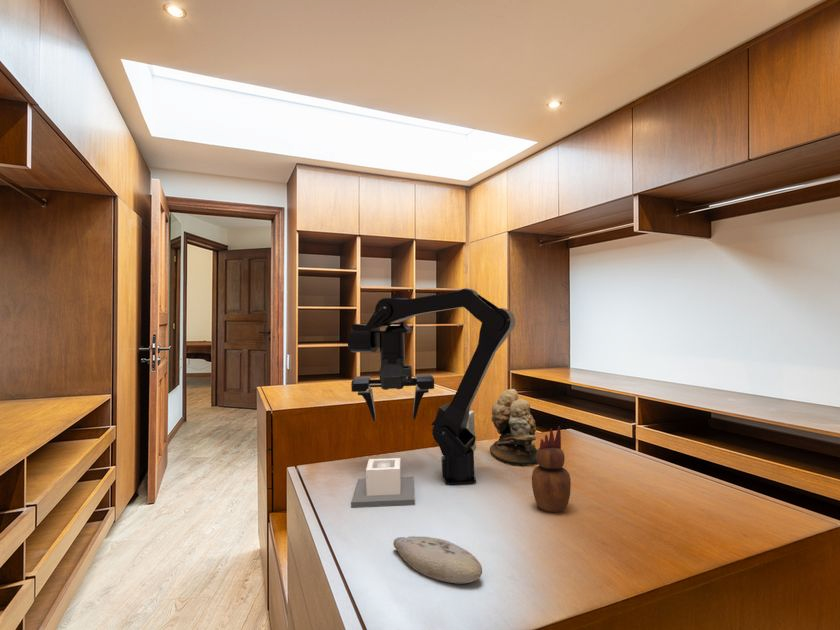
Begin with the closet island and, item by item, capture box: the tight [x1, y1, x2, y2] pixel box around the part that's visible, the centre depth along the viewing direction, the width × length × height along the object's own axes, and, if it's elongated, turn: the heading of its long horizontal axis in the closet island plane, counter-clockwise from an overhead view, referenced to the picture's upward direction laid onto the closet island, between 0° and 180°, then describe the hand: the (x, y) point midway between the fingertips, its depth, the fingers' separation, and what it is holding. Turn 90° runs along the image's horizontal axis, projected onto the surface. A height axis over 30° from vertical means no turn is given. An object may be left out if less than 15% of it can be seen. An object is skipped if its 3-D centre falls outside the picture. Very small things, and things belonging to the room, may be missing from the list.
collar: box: [365, 457, 402, 496], centre depth 89 cm, size 7×7×5 cm
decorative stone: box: [392, 535, 483, 584], centre depth 62 cm, size 6×16×3 cm, turn 53°
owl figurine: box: [489, 388, 539, 467], centre depth 110 cm, size 18×12×17 cm, turn 12°
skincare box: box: [466, 410, 477, 451], centre depth 115 cm, size 5×4×10 cm
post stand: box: [350, 462, 416, 509], centre depth 89 cm, size 12×12×6 cm
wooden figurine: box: [531, 425, 572, 513], centre depth 80 cm, size 7×6×15 cm
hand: (394, 420), depth 101 cm, fingers open, 9 cm apart
